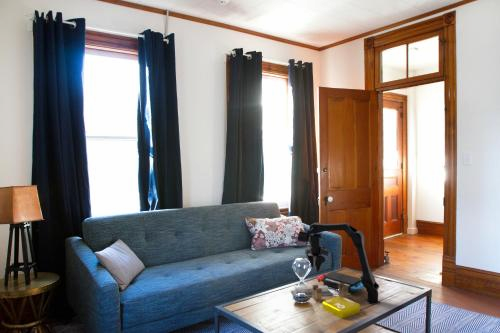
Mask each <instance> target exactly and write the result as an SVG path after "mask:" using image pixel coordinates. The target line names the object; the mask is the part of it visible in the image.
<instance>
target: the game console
mask: <svg viewBox="0 0 500 333" xmlns="http://www.w3.org/2000/svg"><path fill="white" fill-rule="evenodd" d="M316 279H317V282H318V283H320V282H322V283H323V286H324V285H327V286H328V288H329V287H330V288H329V289H332V288H335V289H334V290H336V289H339V283H344V286H348V295H349V294H350V295H354V294H356V293H357V292H359V291H361V290H362V289H363V288H365V287H364V286H363V284H362V281H361V279H360V277H357V276H352V275H349V274H344V273H341V272H337V271H334V270H333V271H330V272H329V273H323V274H321V275H319V276H316Z"/></svg>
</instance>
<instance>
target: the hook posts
mask: <svg viewBox="0 0 500 333" xmlns="http://www.w3.org/2000/svg"><path fill="white" fill-rule="evenodd" d="M312 286H313V297H311V298H312V299H313V300H314V302H316V303H323V301H322V299H323V298H322V297H323V296H322V289H321V288H318V286H319V285H318V284H312ZM337 291H338V293H337V294H338V296H342V297H345V298H347V299H349V293H348V286H344V283H339V290H337Z"/></svg>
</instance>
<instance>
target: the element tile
mask: <svg viewBox="0 0 500 333" xmlns="http://www.w3.org/2000/svg"><path fill="white" fill-rule="evenodd" d="M321 308H322V310H324V311H325V312H327V313H329V314H331V315H333V316H335V317H337V318H339V319H345V318H348V317H352V316H354V315H356V314H360V313H361V305H360V303H358V302H356V301H353V300H351V299H349V298H348V299H347V298H345V297H342V296H333V297H331V298H327V299H325V300H323V301H322V307H321Z"/></svg>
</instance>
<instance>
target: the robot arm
mask: <svg viewBox="0 0 500 333" xmlns="http://www.w3.org/2000/svg"><path fill="white" fill-rule="evenodd" d="M338 231H339V232H340V231H344V232H345V233H346V234H347V236H348V237H350V238H351V241H352V243H353V245H354V247H355V248H356V251H357V257H358V260H359V263H360V268H361V271H362V273H361V275H360V277H359V278H360V279H361V281H362V284H363V286H364V287H363V288H365V290H366V295H367V296H366V298H364V301H366V302H367V303H368V304H369V305H374V304H375V305H376V304H377V305H378V304H381V301H380V300H379V288H380V285H379V284H378V283H377V281H376V279H375V276H374V274H373V272H372V271H371V268H370V264H369V261H368V256H367V253H366V249H365V235H364V232H362V231H361V230H358V229H357V228H356V227H354V226H353V225H351V224H349V223H348V222H343V223H323V222H322V223H321V222H314V223H312V224H310V226H309V229H308V230H307V231H304V230H300V231H299V232H298V235H297V242H299V243H305V244H306V243H307V244H308V243H309V242H310V244H309V245H308V246H309V248H306V249H305V251H304V252H305V253H304V254H305V256H306V258H307V261H308V260H309V261H310V263H311V265H310V268H313V267H315V271H316V273H319V271H320V268H321V267H322V264H324V263H325V262H326V257H328V255H329V252H330V251H329V249H326V247H325V246H323V245H321V239H323V237H324V235H323V234H322V233H323V232H338ZM325 256H326V257H325ZM309 261H308V262H309ZM310 263H309V264H310Z"/></svg>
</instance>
